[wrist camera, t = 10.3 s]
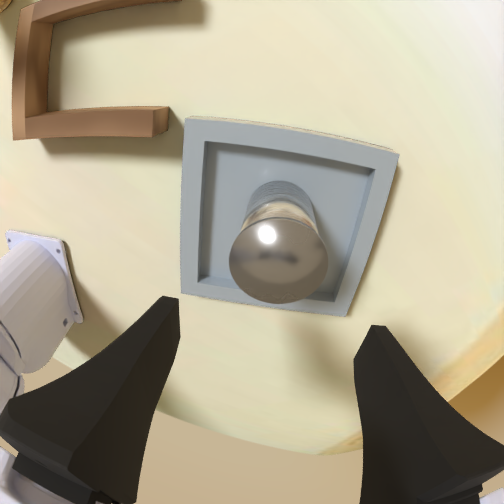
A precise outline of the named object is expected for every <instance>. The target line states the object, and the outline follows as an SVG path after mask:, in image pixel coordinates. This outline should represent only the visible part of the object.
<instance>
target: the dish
mask: <svg viewBox="0 0 504 504" xmlns="http://www.w3.org/2000/svg"><path fill="white" fill-rule="evenodd" d="M398 158H399V154H398V153H396V152H395V151H393V150H392V149H389V148H385V147H382V146H378V145H374V144H370V143H366V142H362V141H358V140H354V139H349V138H345V137H341V136H336V135H331V134H326V133H321V132H316V131H311V130H306V129H300V128H294V127H288V126H282V125H275V124H268V123H261V122H253V121H245V120H236V119H227V118H216V117H203V116H190V117H187V118H185V126H184V141H183V159H182V182H181V222H180V269H181V293H182V294H188V295H193V296H199V297H205V298H211V299H217V300H223V301H230V302H236V303H243V304H249V305H256V306H263V307H270V308H278V309H285V310H293V311H300V312H308V313H317V314H325V315H334V316H343V317H345V316H346V314H347V312H348V309H349V307H350V304H351V302H352V299H353V297H354V294H355V292H356V289H357V287H358V284H359V281H360V279H361V276H362V273H363V271H364V268H365V265H366V263H367V260H368V257H369V254H370V251H371V248H372V245H373V243H374V240H375V237H376V234H377V231H378V227H379V224H380V221H381V218H382V215H383V212H384V208H385V205H386V202H387V198H388V195H389V191H390V188H391V184H392V181H393V177H394V173H395V169H396V166H397V162H398ZM271 181H287V182H291V183H294V184H296V185H297V186H299V187H300V188H302V189H303V190H304V191H305V192H306V194H307V195H308V197H309V199H310V201H311V204H312V208H313V212H314V217H315V221H316V225H317V230H318V234H319V236H320V237H321V239H322V240H323V242H324V244H325V247H326V250H327V254H328V270H327V274H326V276H325V279H324V280H323V282H322V284H321V285H320V286H319V287H318V288H317V289H316V291H314V292H313V293H312V294H311V295H309V296H307V297H306V298H304V299H301V300H299V301H296V302H292V303H286V304H271V303H266V302H262V301H259V300H257V299H254V298H252V297H251V296H249V295H247V294H246V293H245V292H244V291H242V290H241V289H240V288H239V287H238V285H237V284H236V283H235V281H234V280H233V277H232V275H231V272H230V269H229V254H230V251H231V247H232V244H233V242H234V240H235V239H236V237H237V236H238V235H239V233H240V231H241V227H242V224H243V220H244V216H245V213H246V209H247V205H248V202H249V199H250V197H251V195H252V194H253V193H254V191H255V190H256V189H258V188H259V187H260V186H262V185H263V184H266V183H268V182H271Z"/></svg>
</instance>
